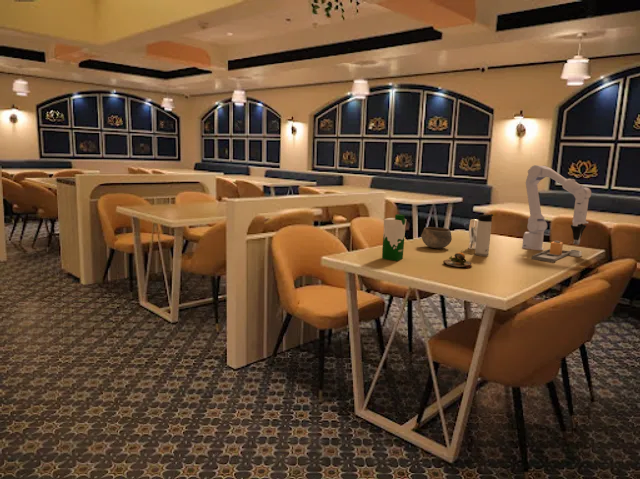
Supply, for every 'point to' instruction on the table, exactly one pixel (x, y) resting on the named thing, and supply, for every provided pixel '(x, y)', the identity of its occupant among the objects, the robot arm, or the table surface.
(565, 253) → the case
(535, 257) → the lid
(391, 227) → the milk carton
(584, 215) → the robot arm
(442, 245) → the bowl
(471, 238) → the beer glass
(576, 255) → the bracket
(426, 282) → the table surface
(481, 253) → the travel mug
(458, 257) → the burger
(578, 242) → the rod
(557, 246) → the block
